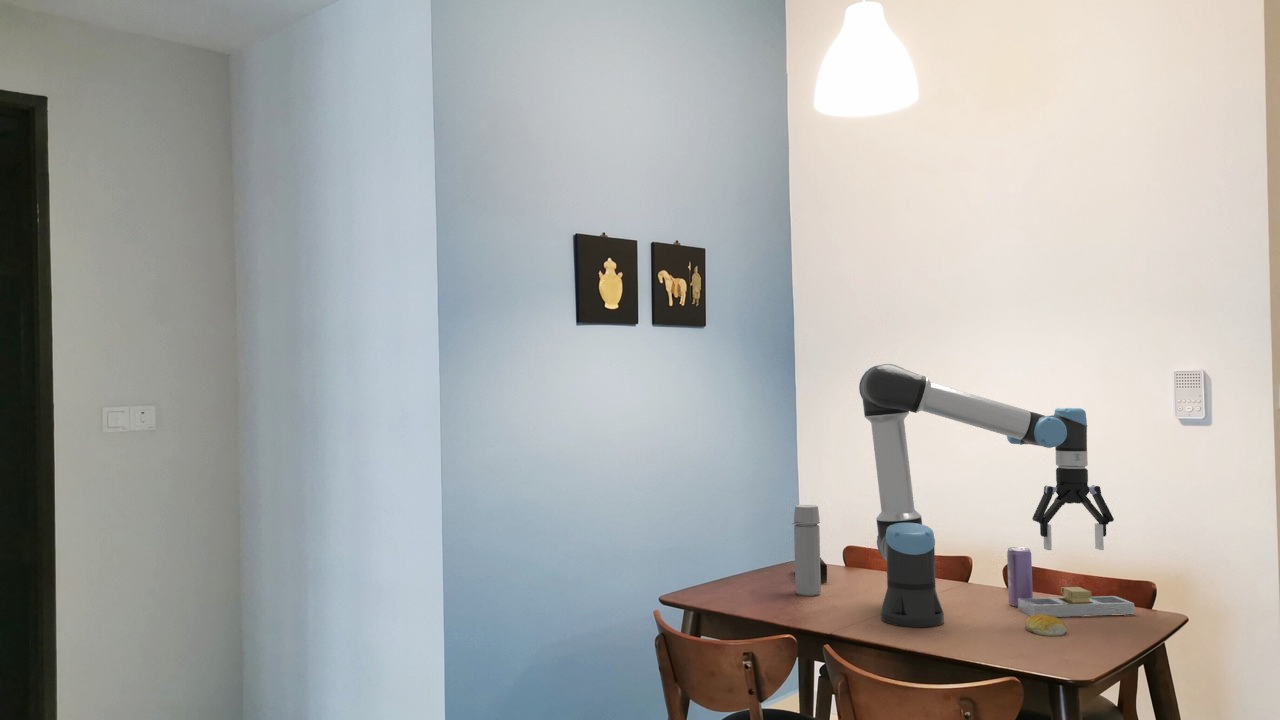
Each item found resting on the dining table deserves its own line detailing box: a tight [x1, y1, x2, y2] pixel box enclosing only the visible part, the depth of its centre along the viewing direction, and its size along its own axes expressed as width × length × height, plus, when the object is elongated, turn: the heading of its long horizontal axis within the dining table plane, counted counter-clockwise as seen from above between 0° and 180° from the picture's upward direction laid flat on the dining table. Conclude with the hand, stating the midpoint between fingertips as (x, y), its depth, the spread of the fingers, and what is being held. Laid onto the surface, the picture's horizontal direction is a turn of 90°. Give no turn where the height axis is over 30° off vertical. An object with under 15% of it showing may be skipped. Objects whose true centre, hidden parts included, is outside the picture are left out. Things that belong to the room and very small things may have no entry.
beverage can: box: [1006, 546, 1034, 608], centre depth 242 cm, size 6×6×15 cm
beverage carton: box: [820, 557, 828, 583], centre depth 283 cm, size 8×19×7 cm, turn 176°
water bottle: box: [791, 504, 822, 597], centre depth 261 cm, size 9×8×25 cm
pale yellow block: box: [1060, 586, 1093, 604], centre depth 233 cm, size 5×6×6 cm
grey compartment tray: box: [1017, 595, 1136, 618], centre depth 233 cm, size 26×8×3 cm, turn 92°
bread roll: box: [1025, 614, 1067, 637], centre depth 215 cm, size 8×9×4 cm
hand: (1073, 549), depth 235 cm, fingers open, 13 cm apart
